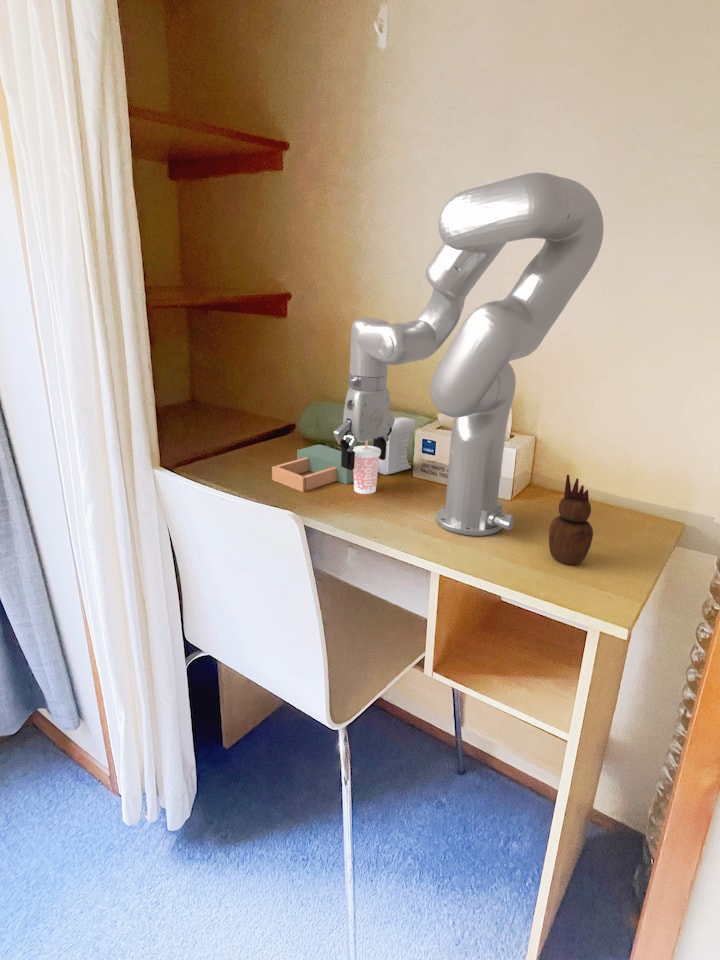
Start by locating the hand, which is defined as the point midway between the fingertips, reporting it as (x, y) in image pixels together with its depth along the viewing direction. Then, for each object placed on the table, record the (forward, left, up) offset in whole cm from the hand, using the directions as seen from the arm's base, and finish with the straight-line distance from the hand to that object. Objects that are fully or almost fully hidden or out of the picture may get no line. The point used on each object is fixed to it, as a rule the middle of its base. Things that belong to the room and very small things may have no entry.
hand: (363, 463), depth 130 cm
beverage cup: (-1, 0, -6) cm, 6 cm away
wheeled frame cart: (+12, +1, -6) cm, 14 cm away
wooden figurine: (-46, -1, -6) cm, 46 cm away
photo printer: (+3, -15, -6) cm, 17 cm away
